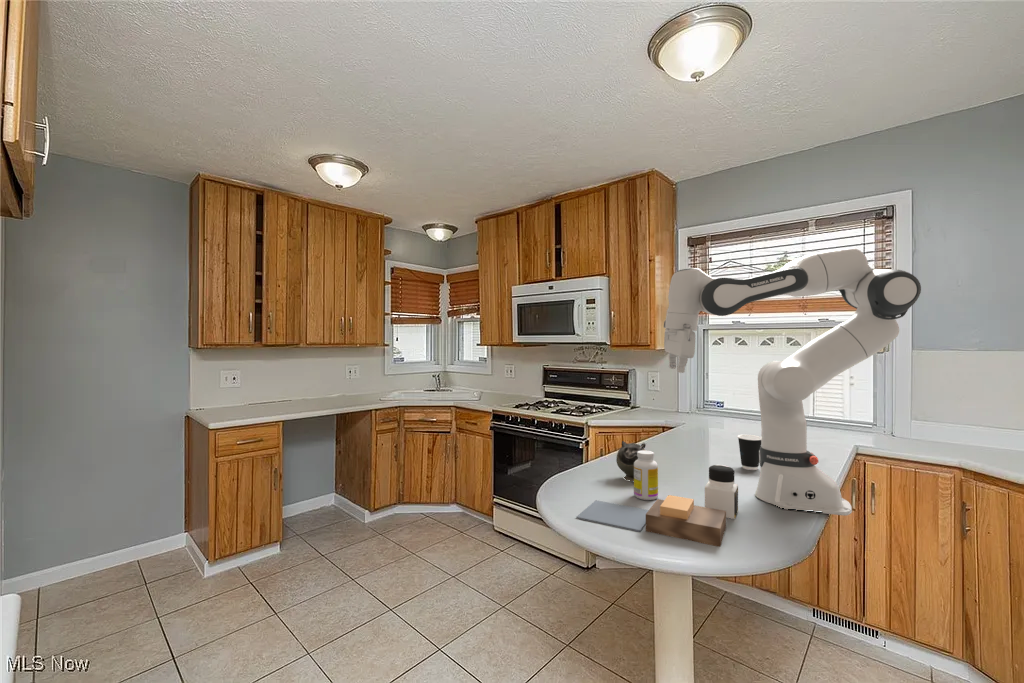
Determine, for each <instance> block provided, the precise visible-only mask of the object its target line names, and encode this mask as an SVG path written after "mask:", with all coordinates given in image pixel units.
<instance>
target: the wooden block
mask: <svg viewBox="0 0 1024 683" xmlns="http://www.w3.org/2000/svg"><path fill="white" fill-rule="evenodd" d="M655 500H656V501H655V502H654V503H653V504H652V506H650V508H649V509H648V510H649V511H648V512H647V513H646V525H645V532H646V533H647V532H648V533H652V534H656V535H661V536H666V537H672V538H675V539H680V540H685V541H688V542H689V541H690V542H695V543H699V544H704V545H709V546H714V547H719V548H721V546H722V544H723V543H722V542H723V540H724V536H725V532H726V530H727V518H726V511H724V510H718V509H712V508H707V507H705V506H702V505H701V506H700V505H695V504H694V508H693V510H692V512H691V514H690V516H689V518H688V519H687V520H686V519H681V518H675V517H670V516H665V515H660V506H661V504H662V503H663V502H664V500H665V499H661V498H660V499H659V498H656V499H655Z"/></svg>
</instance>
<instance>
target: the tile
mask: <svg viewBox="0 0 1024 683" xmlns="http://www.w3.org/2000/svg"><path fill="white" fill-rule="evenodd" d="M663 500H664V502H663V503H662V504H661V506H660V515H665V516H670V517H675V518H681V519H686V520H687V519H688V518H689V516H690V514H691V512H692V510H693V508H694V505H695V500H694V498H689V497H683V496H678V495H670V494H669V495H667V496H666V497H665V498H664V499H663Z"/></svg>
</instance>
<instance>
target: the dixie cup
mask: <svg viewBox="0 0 1024 683" xmlns="http://www.w3.org/2000/svg"><path fill="white" fill-rule="evenodd" d="M737 438H738V446H739V454H740V463H741V464H740V465H741V466H742V467H741V468H742V469H744V470H749V471H757V470H758V468H759V467H760V463H759V450H760V446H761V436H758V435H753V434H738V435H737Z"/></svg>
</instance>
